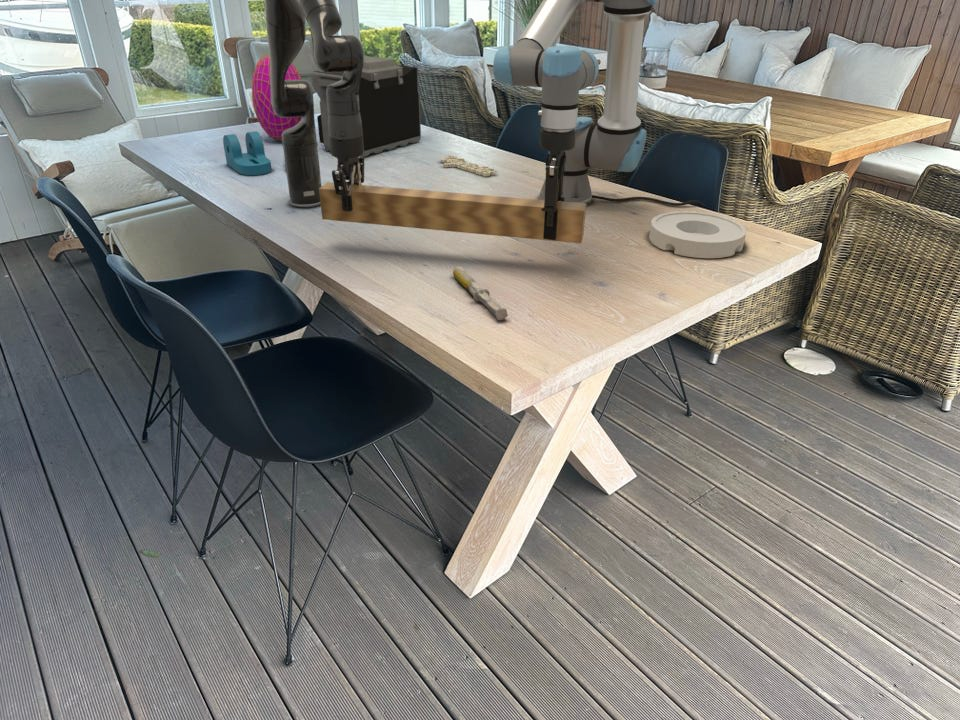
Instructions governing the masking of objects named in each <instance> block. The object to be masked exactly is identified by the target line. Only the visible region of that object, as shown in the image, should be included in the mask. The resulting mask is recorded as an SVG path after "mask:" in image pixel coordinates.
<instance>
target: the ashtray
mask: <svg viewBox="0 0 960 720" xmlns="http://www.w3.org/2000/svg"><path fill="white" fill-rule="evenodd" d="M746 236H747V230H746V227H745V226H744V225H743V224H741V223H740V222H738V221H737V220H734V219H732V218H730V217H726V216H724V215H719V214H714V213H709V212H702V211H691V210H690V211H689V210H685V211H683V210H681V211H679V210H677V211H670V212H664V213H660V214H657V215H656V216H653V218H652V219H651V221H650V226H649V235H648V237H649V238H648V239H649V241H650V242H651V244H652V245H654V246H655V247H657V248H658V249H660V250H663V251H673V252H674V255H677V256H682V257H688V258H689V257H690V258H697V259H721V258H726V257H727V258H729V257H732V256H734V255H735V254H736V253H740V252H742V251H743V248H744V245H745V239H746Z"/></svg>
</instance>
